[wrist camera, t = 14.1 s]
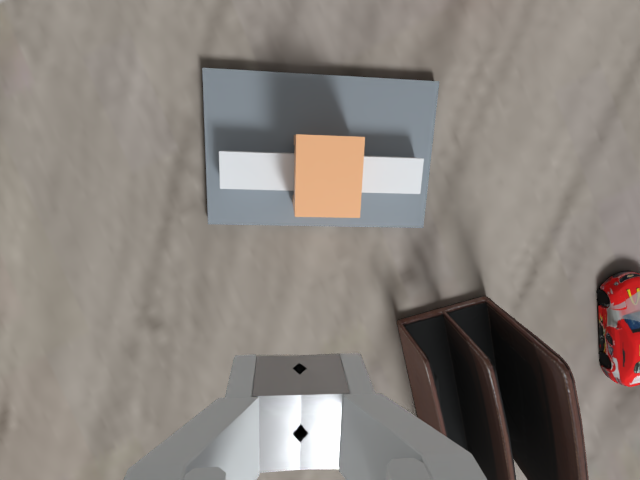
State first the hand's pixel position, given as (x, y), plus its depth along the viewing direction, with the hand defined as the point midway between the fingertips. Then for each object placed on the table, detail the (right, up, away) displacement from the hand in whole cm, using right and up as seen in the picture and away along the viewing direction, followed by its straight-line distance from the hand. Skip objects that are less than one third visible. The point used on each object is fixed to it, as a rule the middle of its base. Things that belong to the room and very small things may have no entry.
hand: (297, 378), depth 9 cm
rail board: (+1, +11, +25) cm, 28 cm away
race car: (+34, -6, +34) cm, 48 cm away
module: (+1, +9, +25) cm, 26 cm away
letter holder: (+16, -13, +33) cm, 39 cm away
